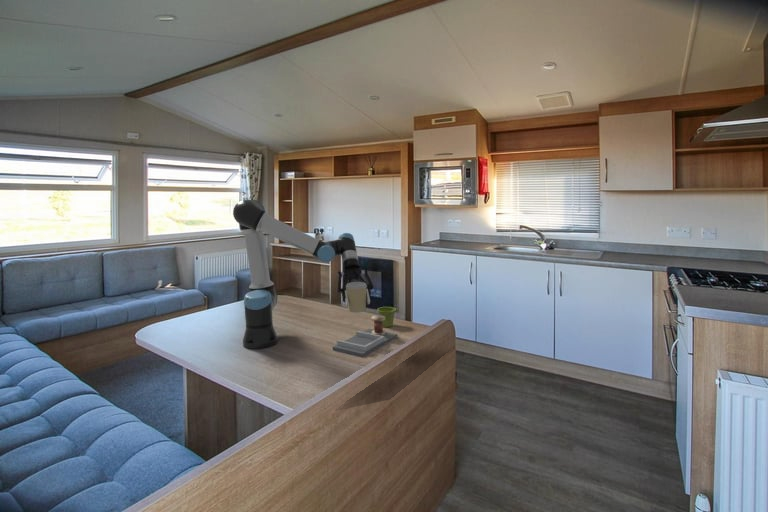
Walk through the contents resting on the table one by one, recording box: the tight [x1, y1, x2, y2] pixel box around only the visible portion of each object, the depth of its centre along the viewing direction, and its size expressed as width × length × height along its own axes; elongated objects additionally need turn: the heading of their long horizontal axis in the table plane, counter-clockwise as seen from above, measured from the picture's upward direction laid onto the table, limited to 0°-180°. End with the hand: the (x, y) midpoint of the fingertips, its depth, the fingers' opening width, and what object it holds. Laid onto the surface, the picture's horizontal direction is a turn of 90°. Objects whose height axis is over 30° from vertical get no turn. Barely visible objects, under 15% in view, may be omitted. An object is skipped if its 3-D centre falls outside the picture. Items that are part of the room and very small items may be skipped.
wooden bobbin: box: [371, 314, 386, 336], centre depth 192 cm, size 6×6×8 cm
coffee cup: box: [345, 281, 367, 314], centre depth 183 cm, size 9×9×12 cm
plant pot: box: [376, 306, 397, 328], centre depth 209 cm, size 9×9×9 cm
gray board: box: [332, 328, 399, 358], centre depth 184 cm, size 28×16×4 cm, turn 147°
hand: (358, 303), depth 181 cm, fingers closed on coffee cup, 9 cm apart
